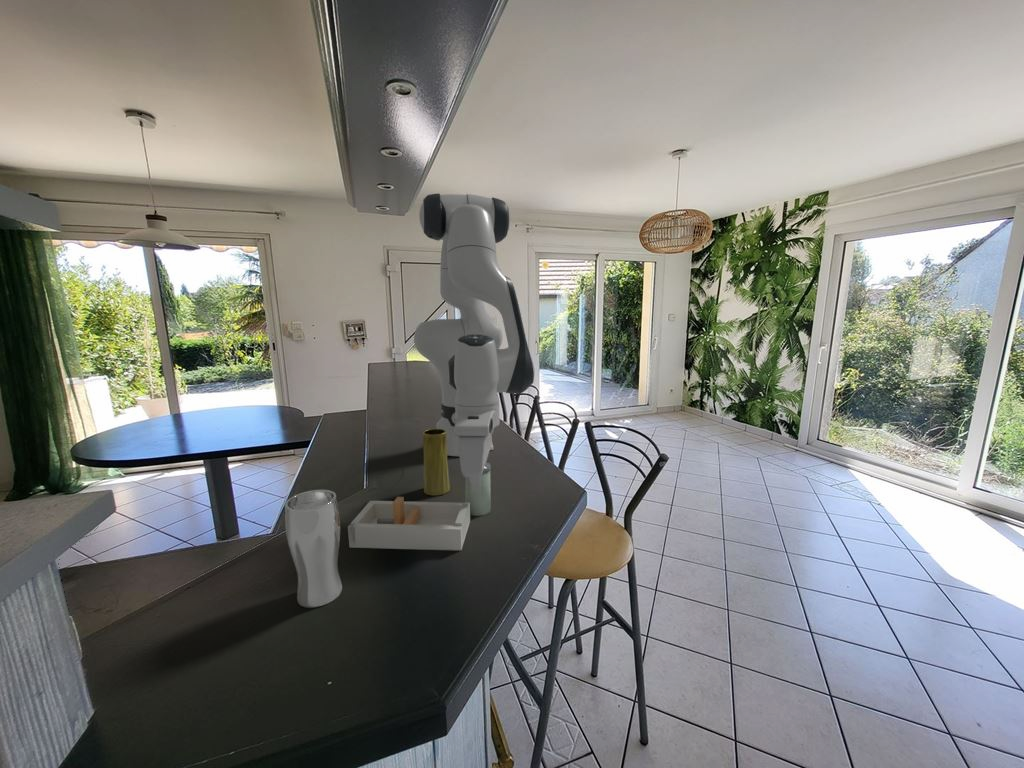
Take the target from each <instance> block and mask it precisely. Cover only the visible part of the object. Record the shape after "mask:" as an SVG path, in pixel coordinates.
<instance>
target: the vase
mask: <svg viewBox="0 0 1024 768" xmlns="http://www.w3.org/2000/svg"><path fill="white" fill-rule="evenodd" d="M422 439H423V492H424V494H426V495H428V496H435V497H436V496H442V495H445V494H447V493H448V492H450V490H451V486H450V476H449V474H450V473H449V465H448V464H449V463H448V455H447V434H446V430H444V429H438V428H437V427H436V428H430V429H429V428H428V429H426V430H424V431H422Z"/></svg>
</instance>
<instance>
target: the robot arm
mask: <svg viewBox="0 0 1024 768" xmlns="http://www.w3.org/2000/svg"><path fill="white" fill-rule="evenodd" d="M509 210H510V209H509V206H508V204H507V203H506V202H505V201H504V200H501V199H499V198H496V197H494V196H492V197H491V198H490V197H486V196H482V195H476V194H471V193H470V194H468V193H467V194H458V193H457V194H452V193H451V194H440V193H431V194H427V195H426V196H425V197H424V198H423V200H422V203H421V206H420V208H419V224H420V226H421V229H422V231H423V234H424V235H425V236H426V237H428V238H429V239H432V240H434V241H438V242H439V241H440V240H442V244H441V245H442V246H441V251H440V252H441V253H440V271H439V272H440V276H439V277H440V283H439V285H440V287H439V288H440V291H439V292H440V296H441V298H442V300H443V301H444V302H445V303H447V304H448V305H449V306H452V307H454V308H455V309H458V311H459V313H460V318H446V319H445V318H442V319H440V318H435V319H431V320H426V321H423V322H420V323H419V324H418V325H417V327H416V328H415V331H414V335H413V343H414V346H415V349H416V350H417V352H418V353H419V354H420V355H421V356H422V357H424V358H425V359H427V360H428V361H429V362H430V363H431V364H432V365H433V366H434V368H435V370H436V372H437V374H438V377H439V379H440V380H439V381H440V387H441V388H440V389H441V398H442V399H441V401H442V402H441V405H440V415H441V418H440V419H439V420H438V421H437V422H436V428H438V429H444V430H446V434H447V456H450V457H459V464H460V470H461V471H460V472H461V474H462V476H463V477H464V478H465V477H469V480H470V483H471V491H472V492H477V493H478V492H480V490H481V481H480V477H481V476H482V473H483V470H484V467H485V463H486V462H487V461H488V458H489V455H490V451H493V450H494V444H493V441H492V440H493V439H492V437H493V436H492V434H494V429H495V428H496V427H498V426H499V425H500V398H499V395H498V393H505V394H515V395H517V394H518V395H522V394H523V393H524V392H525V391H527V390H528V389H529V388H530V387H531V386H532V385H533V384H534V379H535V366H534V361H533V359H532V356H531V353H530V349H529V345H528V341H527V337H526V333H525V328H524V323H523V318H522V314H521V309H520V305H519V301H518V297H517V293H516V290H515V286H514V284H513V282H512V279H511V278H510V277H508V276H506V275H504V273H503V271H502V269H500V266H499V264H498V260H497V259H498V258H497V246H496V244H499V243H500V242H502V241H503V240H504V239H505V238H506V237H507V236H508V232H509V229H510V226H511V215H510V211H509ZM483 302H485V303H486V304H488V305H490V306H492V307H494V308H495V309H496V310H498V312H499V313H500V315H501V318H502V322H503V326H504V327H503V328H504V332H505V336H506V339H507V344H508V346H507V347H506V348H501V346H502V344H503V340H504V339H503V331H502V328H501V327H500V325H499V324H498V323H497V321H495V320H494V319H493V318H492V317H491V316H490V315H489V313H488V312H487V310H486V309H485V306H484V303H483Z"/></svg>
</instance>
